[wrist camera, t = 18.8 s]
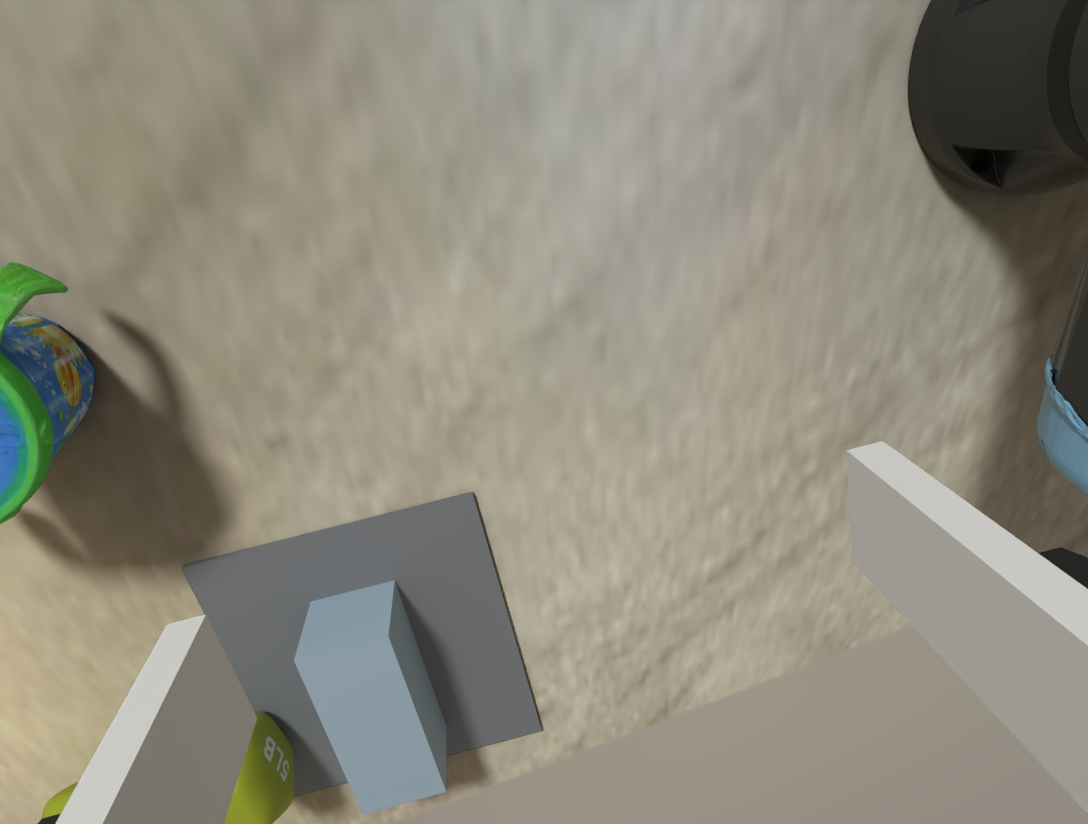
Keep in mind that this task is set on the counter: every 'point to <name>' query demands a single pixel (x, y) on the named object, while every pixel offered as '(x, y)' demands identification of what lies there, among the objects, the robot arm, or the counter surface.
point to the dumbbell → (244, 779)
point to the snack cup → (35, 387)
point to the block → (374, 696)
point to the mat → (431, 606)
